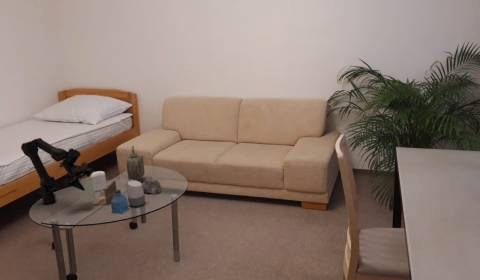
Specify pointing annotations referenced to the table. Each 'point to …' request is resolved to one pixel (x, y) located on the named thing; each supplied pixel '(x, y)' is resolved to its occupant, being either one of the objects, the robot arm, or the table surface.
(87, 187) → the cabinet block
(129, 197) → the smart speaker
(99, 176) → the photo printer
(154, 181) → the mineral rock
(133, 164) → the green spouted canister
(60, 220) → the table surface
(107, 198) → the cleat board
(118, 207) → the perfume bottle
